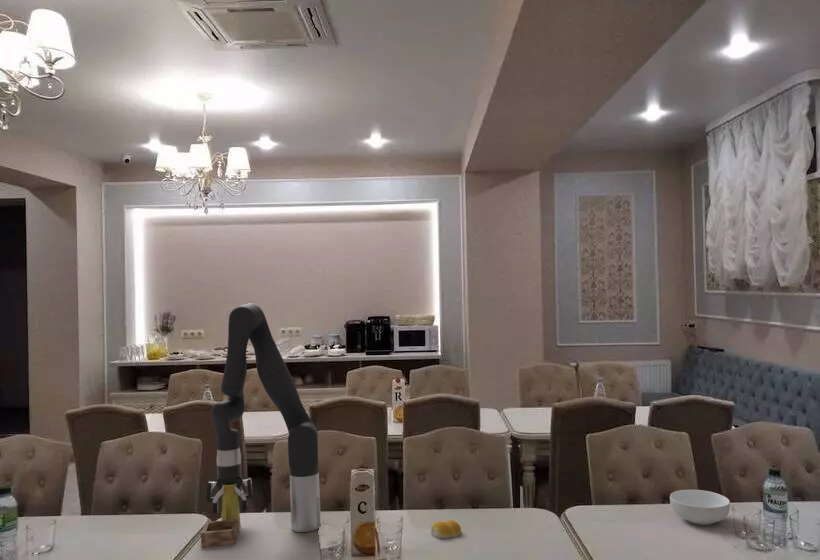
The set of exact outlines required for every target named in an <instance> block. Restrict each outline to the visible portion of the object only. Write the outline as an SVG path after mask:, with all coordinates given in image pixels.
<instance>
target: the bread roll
mask: <svg viewBox="0 0 820 560" xmlns="http://www.w3.org/2000/svg"><path fill="white" fill-rule="evenodd" d="M461 527H462V526H461V525H460V524H459V523H458V522H457V521H455V520H452V519H451V520H450V519H449V520H444V521H436V522H434V523H433V524H432V525H431V529H430V534H431V535H432V536H433V537H434V538H438V539H450V538H452V537H453V538H455V537H458V536H459V535H461V533H462V528H461Z"/></svg>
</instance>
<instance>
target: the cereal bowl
mask: <svg viewBox="0 0 820 560" xmlns="http://www.w3.org/2000/svg"><path fill="white" fill-rule="evenodd" d="M669 503H670V507H671V508H672V510H673V512H674V513H675V514H676V515H678V516H679V517H681V518H683V520H686V521H687V522H689V523H691V524H695V525H700V526H708V525H712V524H715V523H718V522H721V521H723V520H725V519H726V518H727V517H728V516H729V514H730V510H731V501H730V498H728V497H726V496H724V495H722V494H720V493H716V492H713V491H709V490H703V489H680V490H675V491H673V492H671V493H670V495H669Z"/></svg>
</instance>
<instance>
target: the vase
mask: <svg viewBox="0 0 820 560" xmlns="http://www.w3.org/2000/svg"><path fill="white" fill-rule="evenodd" d="M223 486H224V490H223V493H222V495H221V519H220V521H221V520H232V519H239V528H240V527H241V516H240V503H239V495H238V494H237V493H236V492H235V489H234V486H237V483H235V484H232V485H223V484H222V487H223Z"/></svg>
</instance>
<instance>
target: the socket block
mask: <svg viewBox="0 0 820 560" xmlns="http://www.w3.org/2000/svg"><path fill="white" fill-rule="evenodd" d="M239 533H240V527H239V519H232V520H221V519H220V520H212V521H205V523H204V525H203V527H202V530H201V532H200V541H201V542H200V545H201V546H200V547H201V548H203V547H202V546H206V547H212V546H211V545H216V546H223V545H225V544H226V545H233V544H234V545H235V544H237V540H238V538H239V537H238V536H239ZM226 545H225V546H226Z"/></svg>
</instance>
